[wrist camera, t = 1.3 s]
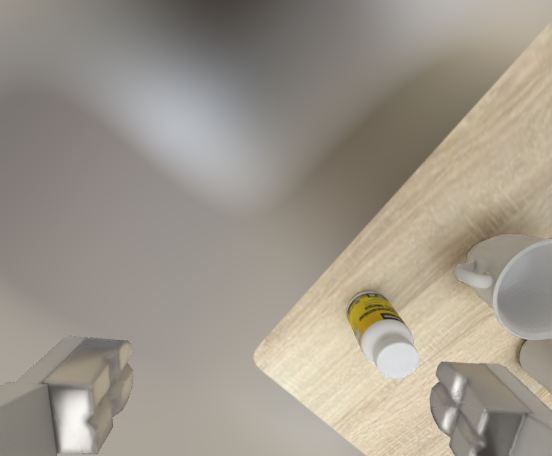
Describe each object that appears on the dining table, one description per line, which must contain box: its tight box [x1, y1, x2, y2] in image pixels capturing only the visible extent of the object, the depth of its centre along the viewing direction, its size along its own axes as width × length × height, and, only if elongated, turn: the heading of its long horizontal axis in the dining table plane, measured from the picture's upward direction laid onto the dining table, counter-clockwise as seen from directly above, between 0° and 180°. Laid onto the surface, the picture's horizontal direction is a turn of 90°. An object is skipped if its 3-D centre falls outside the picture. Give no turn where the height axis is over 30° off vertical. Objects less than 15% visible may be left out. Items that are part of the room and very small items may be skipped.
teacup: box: [454, 234, 552, 340], centre depth 37 cm, size 12×15×10 cm
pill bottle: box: [347, 291, 419, 379], centre depth 38 cm, size 6×6×11 cm
